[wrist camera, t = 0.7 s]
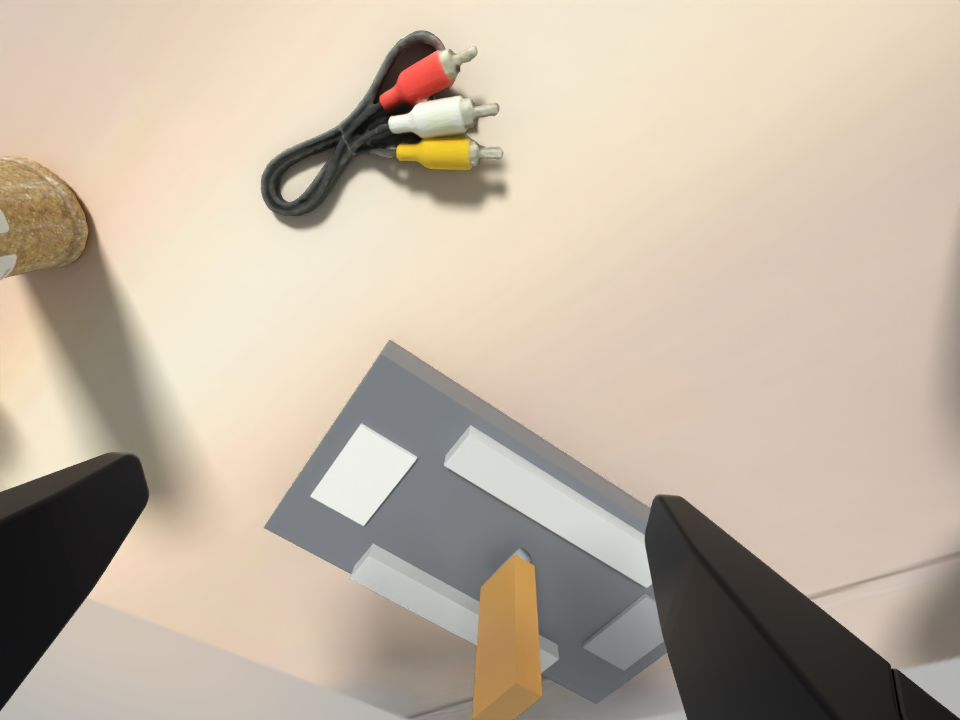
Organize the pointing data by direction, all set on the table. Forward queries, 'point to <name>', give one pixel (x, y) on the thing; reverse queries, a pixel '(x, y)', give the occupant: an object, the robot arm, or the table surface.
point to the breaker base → (476, 522)
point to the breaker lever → (507, 642)
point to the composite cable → (393, 127)
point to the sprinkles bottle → (37, 219)
